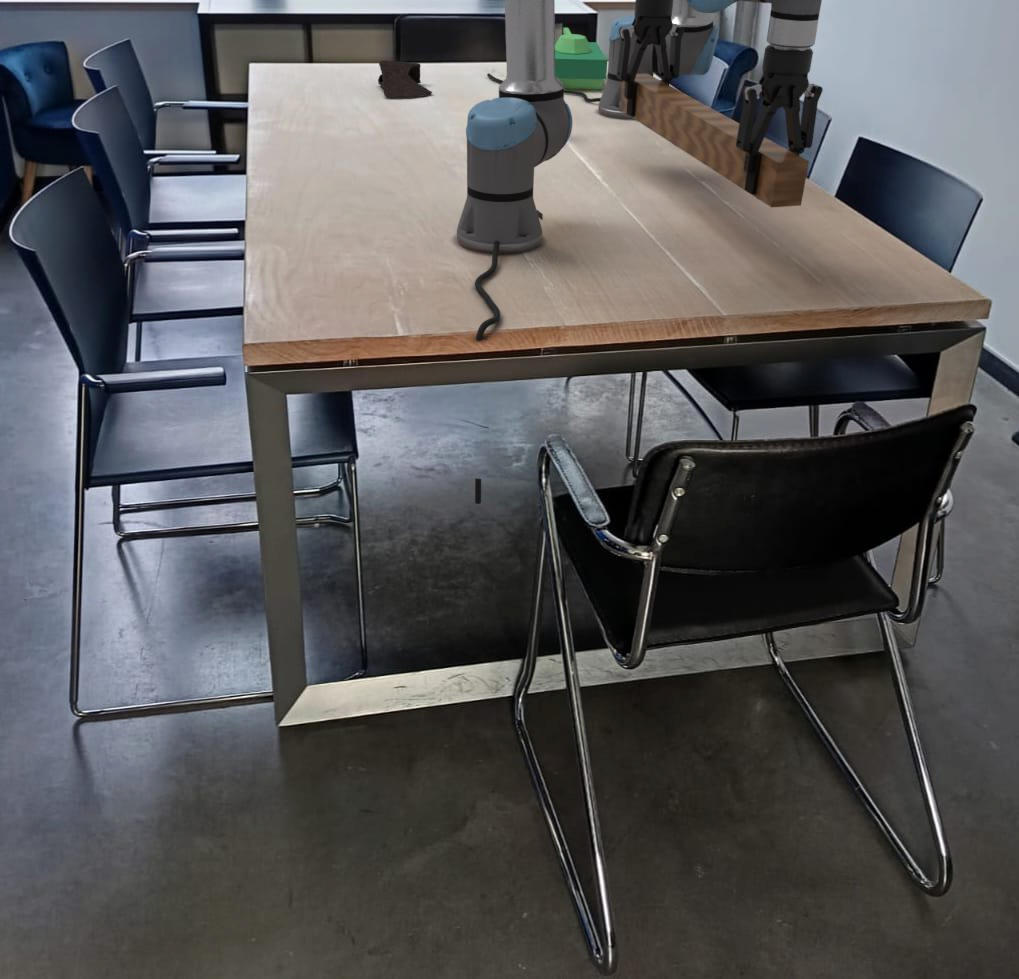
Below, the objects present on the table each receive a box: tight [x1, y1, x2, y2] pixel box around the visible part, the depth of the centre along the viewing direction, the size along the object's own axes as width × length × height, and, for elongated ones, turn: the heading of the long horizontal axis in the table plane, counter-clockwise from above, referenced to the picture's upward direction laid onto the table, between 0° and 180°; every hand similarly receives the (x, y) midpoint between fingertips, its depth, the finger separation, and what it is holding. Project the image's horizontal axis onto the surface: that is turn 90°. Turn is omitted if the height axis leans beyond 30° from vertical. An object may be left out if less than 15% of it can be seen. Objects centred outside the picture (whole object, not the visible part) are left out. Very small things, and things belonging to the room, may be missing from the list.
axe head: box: [377, 59, 433, 99], centre depth 299 cm, size 18×8×15 cm
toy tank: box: [555, 27, 608, 90], centre depth 315 cm, size 18×12×35 cm
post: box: [620, 74, 809, 208], centre depth 206 cm, size 68×6×7 cm, turn 16°
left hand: (766, 190), depth 186 cm, fingers closed on post, 6 cm apart
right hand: (644, 114), depth 230 cm, fingers closed on post, 6 cm apart
